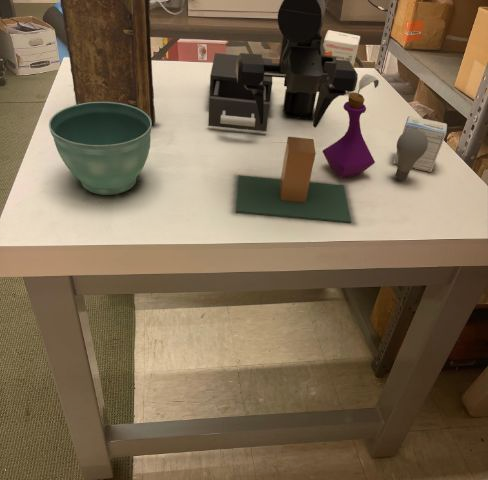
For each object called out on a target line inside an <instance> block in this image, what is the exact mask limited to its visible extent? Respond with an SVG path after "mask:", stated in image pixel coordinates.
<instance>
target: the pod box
mask: <svg viewBox="0 0 488 480" xmlns="http://www.w3.org/2000/svg"><path fill="white" fill-rule="evenodd" d="M316 154H317V152H316V146H315V139H314V138H307V137H297V136H287V138H286V145H285V151H284V158H283V163H282V170H281V176H280V179H281V182H280V198H281V200H283V201H294V202H304V203H305V202H306V198H307V193H308V188H309V183H310V182H311V178H312V173H313V167H314V163H315V158H316Z"/></svg>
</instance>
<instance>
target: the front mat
mask: <svg viewBox="0 0 488 480" xmlns="http://www.w3.org/2000/svg"><path fill="white" fill-rule="evenodd" d="M280 182H281V178H271V177H261V176H251V175H250V176H249V175H241V174H239V175H238V176H237V191H236V204H235V213H238V214H249V215H259V216H269V217H270V216H271V217H280V218H292V219H303V220H314V221H325V222H335V223H336V222H337V223H345V224H346V223H347V224H351V223H352V219H351V213H350V209H349V204H348V200H347V195H346V190H345V185H343V184H334V183H326V182H325V183H323V182H313V181H310V183H309V188H308V193H307V198H306V202H305V203H304V202H294V201H283V200H281V198H280Z"/></svg>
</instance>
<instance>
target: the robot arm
mask: <svg viewBox="0 0 488 480" xmlns="http://www.w3.org/2000/svg"><path fill="white" fill-rule="evenodd" d="M327 4H328V0H282V2H281V4H280V6H279V9H278V11H277V25H278V29H279V31H280V33H281V34H282V37H281V43H280V44H281V45H280V51H279V58H278V59H279V60H278V62H272V63H264V62H263V58H264V57H263V55H262V54H259V53H247V52H246V53H244V52H240V53H239V54H238V57H237V59H236V76H237V83H239V84H241V85H245V88H246V89H247V90H252V92H253V95H254V98H255V101H256V105H257V110H258V115H259V121H260V125H263V119H264V85H263V80H264V76H266V77H272V78H284V82H283V87H285V90H284V98H283V99H284V100H283V106H282V108H283V109H282V110H283V112H284V116H285V117H286V118H289V119H290V118H291V119H299V120H300V119H301V120H309V121H310V120H311V121H312V127H313V128H315V129H316V128H317V127H318V125H319V123H320V122H321V120H322V118H323V116H324V115H325V114H326V111H327V110H328V108H329V107H330V105H331V104H332V103H333V101H334V100H335V99H337V98H338V97H340V96H345V95H346V94H347V93H346V91H347V92H354V91H356V88H357V82H358V73H357V71H356V69H355V67H354V66H352V64H351V62H350V61H347V60H337V59H336V56H325V49H324V46H323V44H324V43H323V41H322V38H323V37H322V34H323V33H322V32H323V26H324V21H325V16H326V15H325V14H326V9H327ZM317 93H318V96H317ZM316 98H317V99H316Z"/></svg>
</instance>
